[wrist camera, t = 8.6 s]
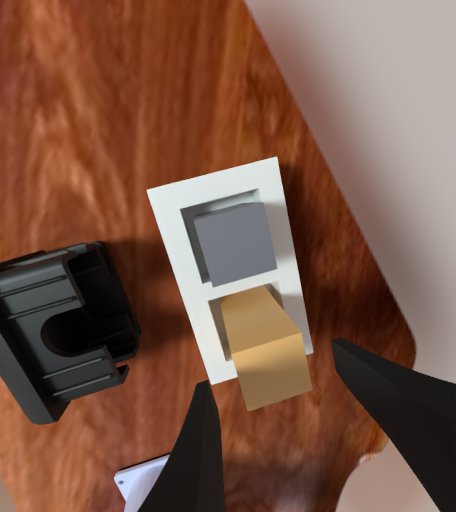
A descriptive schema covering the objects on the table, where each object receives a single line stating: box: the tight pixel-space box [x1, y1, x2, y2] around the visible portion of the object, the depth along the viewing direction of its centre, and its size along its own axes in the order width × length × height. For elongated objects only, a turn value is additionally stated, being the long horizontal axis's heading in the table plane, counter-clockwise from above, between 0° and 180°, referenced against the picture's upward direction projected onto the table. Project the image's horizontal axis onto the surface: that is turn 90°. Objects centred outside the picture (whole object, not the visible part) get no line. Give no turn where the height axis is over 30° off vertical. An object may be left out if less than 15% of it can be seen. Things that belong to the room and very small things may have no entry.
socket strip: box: [147, 157, 313, 385], centre depth 17 cm, size 16×9×6 cm, turn 14°
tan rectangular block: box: [219, 285, 313, 411], centre depth 17 cm, size 4×4×8 cm
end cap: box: [0, 241, 141, 425], centre depth 16 cm, size 10×7×7 cm
